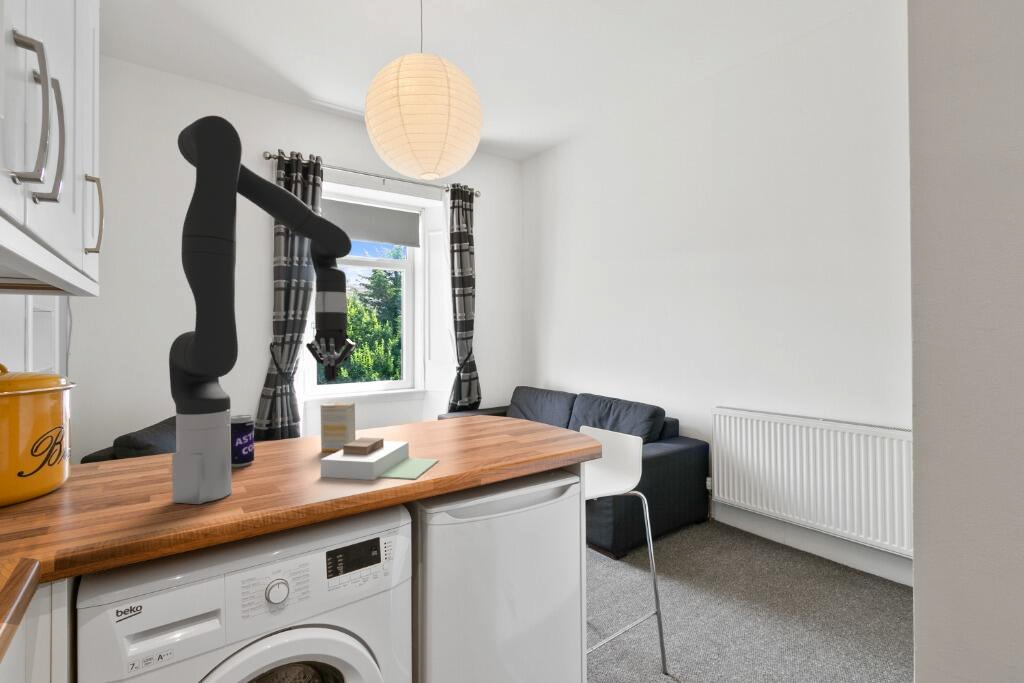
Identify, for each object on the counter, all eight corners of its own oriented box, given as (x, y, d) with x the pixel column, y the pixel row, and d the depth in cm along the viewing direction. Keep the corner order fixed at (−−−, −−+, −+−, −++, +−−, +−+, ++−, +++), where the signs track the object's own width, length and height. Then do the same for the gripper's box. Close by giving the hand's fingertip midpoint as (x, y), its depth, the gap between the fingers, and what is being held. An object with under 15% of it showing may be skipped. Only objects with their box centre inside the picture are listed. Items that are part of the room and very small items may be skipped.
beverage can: (234, 468, 116) (233, 419, 116) (224, 465, 120) (223, 417, 120) (258, 463, 121) (257, 416, 121) (247, 460, 124) (247, 413, 124)
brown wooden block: (366, 455, 114) (366, 446, 114) (343, 453, 115) (343, 445, 115) (383, 446, 123) (383, 438, 122) (361, 445, 124) (361, 437, 124)
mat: (415, 479, 108) (415, 478, 108) (377, 477, 109) (377, 476, 109) (438, 460, 124) (438, 459, 124) (405, 459, 125) (405, 457, 125)
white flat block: (373, 480, 108) (373, 462, 107) (320, 476, 110) (320, 459, 110) (408, 457, 127) (408, 442, 127) (363, 454, 130) (363, 440, 129)
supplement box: (356, 448, 137) (356, 402, 137) (349, 452, 132) (348, 404, 132) (328, 447, 138) (328, 402, 138) (320, 451, 133) (319, 404, 133)
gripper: (297, 310, 117) (298, 381, 117) (348, 310, 115) (348, 382, 115) (315, 312, 124) (316, 379, 125) (363, 311, 122) (363, 379, 122)
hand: (331, 380), depth 120 cm, fingers closed
